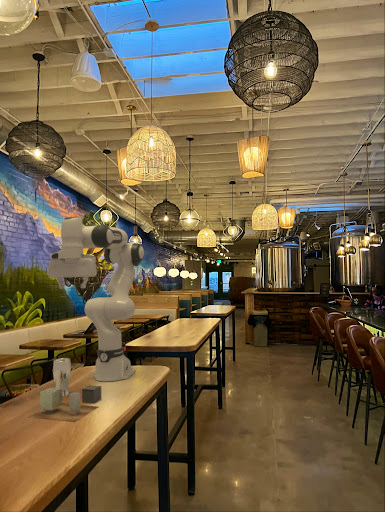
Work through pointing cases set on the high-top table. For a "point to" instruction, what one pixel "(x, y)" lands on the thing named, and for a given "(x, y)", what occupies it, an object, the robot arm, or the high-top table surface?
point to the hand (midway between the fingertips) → (72, 288)
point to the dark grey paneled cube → (91, 394)
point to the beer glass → (62, 374)
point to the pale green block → (51, 399)
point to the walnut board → (64, 413)
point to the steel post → (74, 403)
